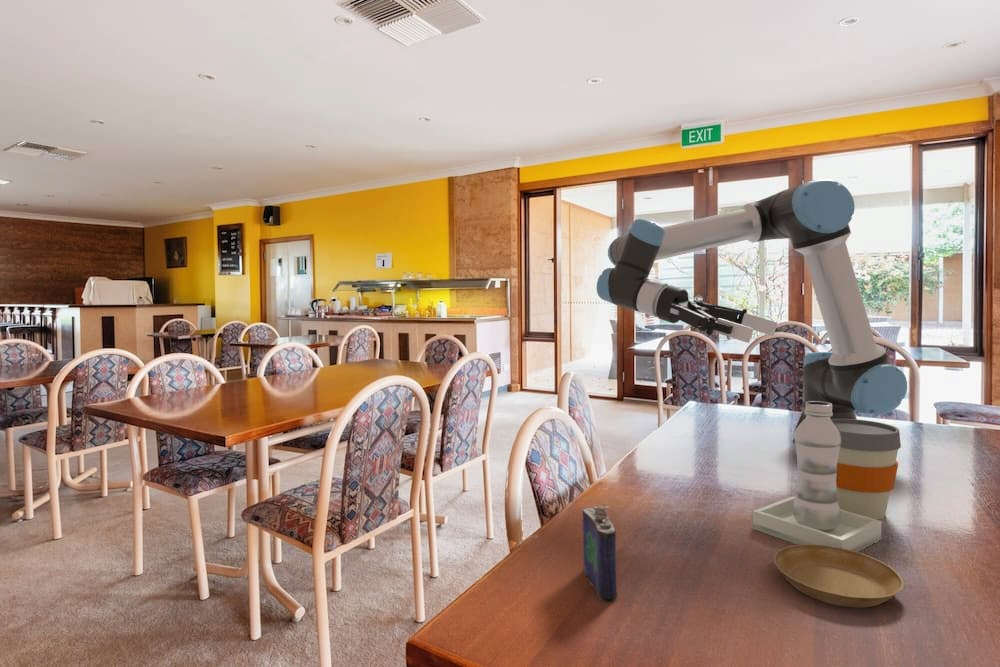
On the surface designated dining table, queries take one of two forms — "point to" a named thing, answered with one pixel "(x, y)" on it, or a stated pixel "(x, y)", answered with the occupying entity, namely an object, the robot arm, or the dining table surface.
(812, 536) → the tray
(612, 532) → the flask
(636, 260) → the robot arm
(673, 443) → the dining table surface
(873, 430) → the reusable coffee cup
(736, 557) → the dining table surface
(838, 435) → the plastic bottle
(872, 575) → the plant saucer
